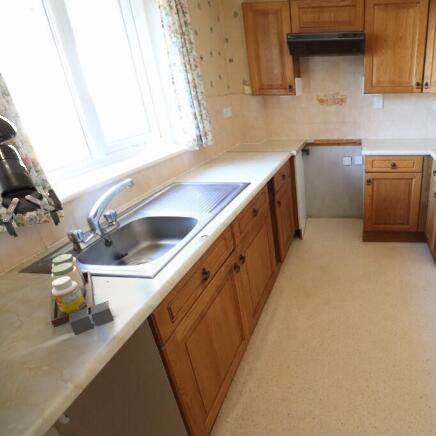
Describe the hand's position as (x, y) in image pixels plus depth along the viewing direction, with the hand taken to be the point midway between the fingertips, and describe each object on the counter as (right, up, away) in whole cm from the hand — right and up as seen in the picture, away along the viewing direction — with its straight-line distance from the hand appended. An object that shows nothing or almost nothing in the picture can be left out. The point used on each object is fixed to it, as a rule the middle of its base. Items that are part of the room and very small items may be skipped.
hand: (37, 229), depth 85 cm
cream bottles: (0, -19, +13) cm, 23 cm away
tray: (+3, -21, +9) cm, 23 cm away
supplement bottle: (+7, -23, +4) cm, 24 cm away
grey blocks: (+15, -25, 0) cm, 29 cm away
